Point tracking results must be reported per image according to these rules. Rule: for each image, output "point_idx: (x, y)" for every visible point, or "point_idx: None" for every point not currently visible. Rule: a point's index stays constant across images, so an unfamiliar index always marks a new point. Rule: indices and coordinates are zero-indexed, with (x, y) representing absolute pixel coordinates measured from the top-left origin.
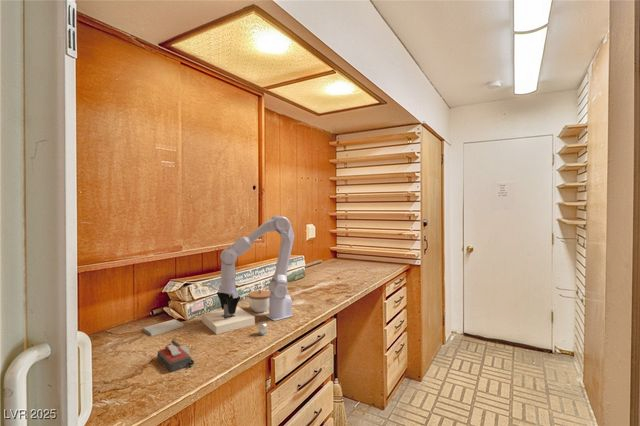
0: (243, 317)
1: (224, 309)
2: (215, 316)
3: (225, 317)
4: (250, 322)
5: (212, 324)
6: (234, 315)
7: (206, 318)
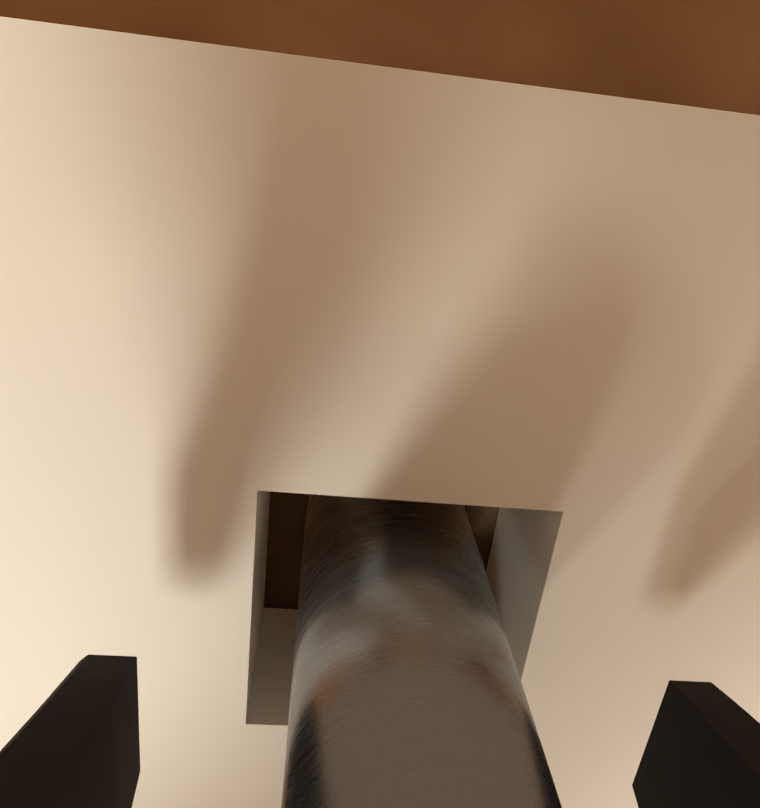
0: None
1: (416, 694)
2: (595, 383)
3: (356, 541)
4: None
5: (131, 35)
6: None
7: (679, 106)
